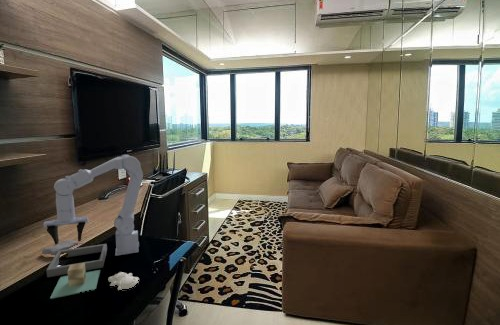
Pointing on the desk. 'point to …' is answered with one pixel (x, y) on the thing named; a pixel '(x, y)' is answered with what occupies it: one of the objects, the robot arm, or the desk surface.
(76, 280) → the maple block
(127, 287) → the white fluffy flat lump
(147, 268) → the desk surface
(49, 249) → the stone block
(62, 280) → the teal mat
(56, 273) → the box
